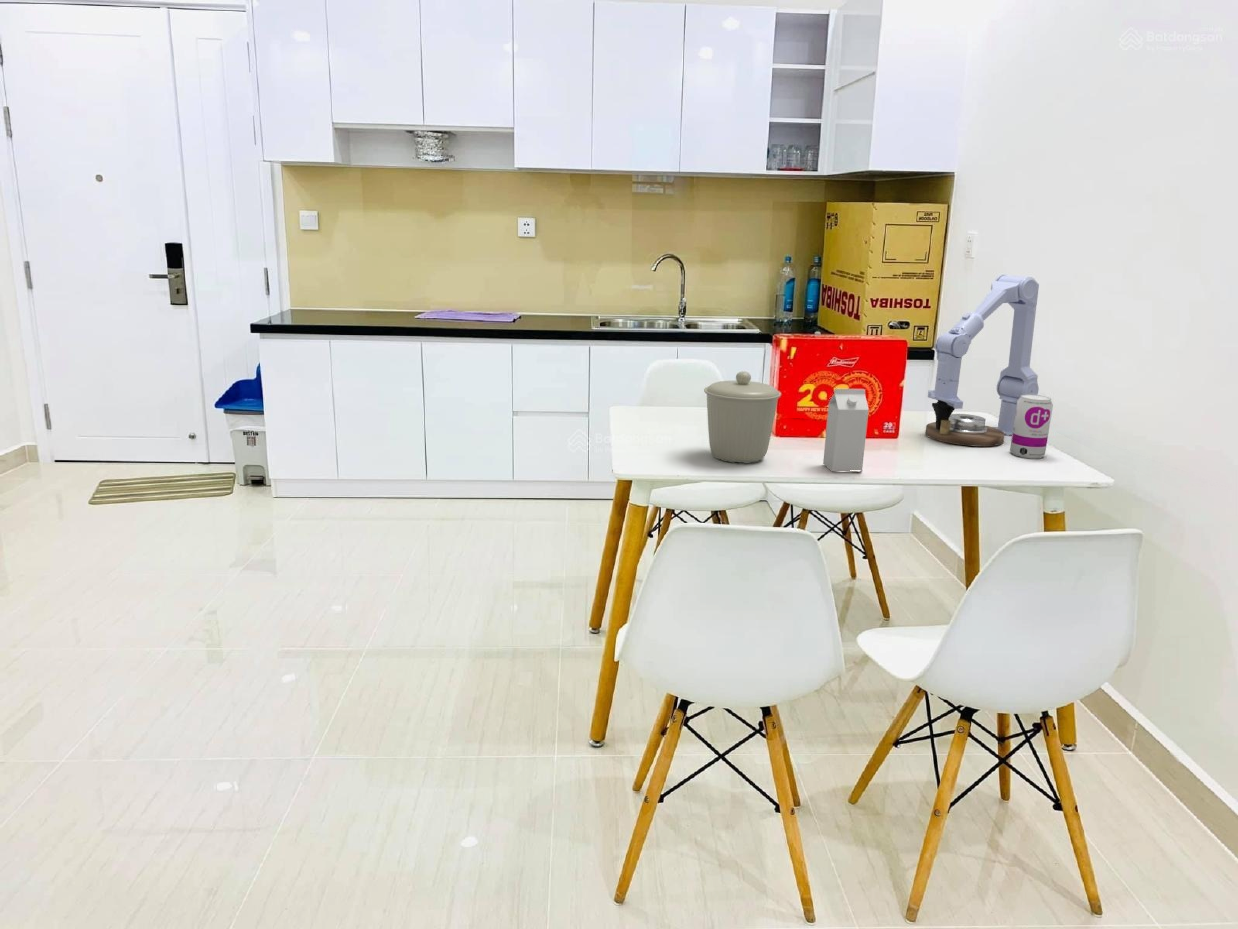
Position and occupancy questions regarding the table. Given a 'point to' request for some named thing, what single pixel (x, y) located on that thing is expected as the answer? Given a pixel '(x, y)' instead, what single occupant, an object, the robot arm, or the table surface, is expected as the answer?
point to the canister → (740, 418)
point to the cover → (967, 424)
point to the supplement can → (1031, 426)
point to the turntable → (964, 435)
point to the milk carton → (846, 430)
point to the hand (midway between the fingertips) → (941, 429)
